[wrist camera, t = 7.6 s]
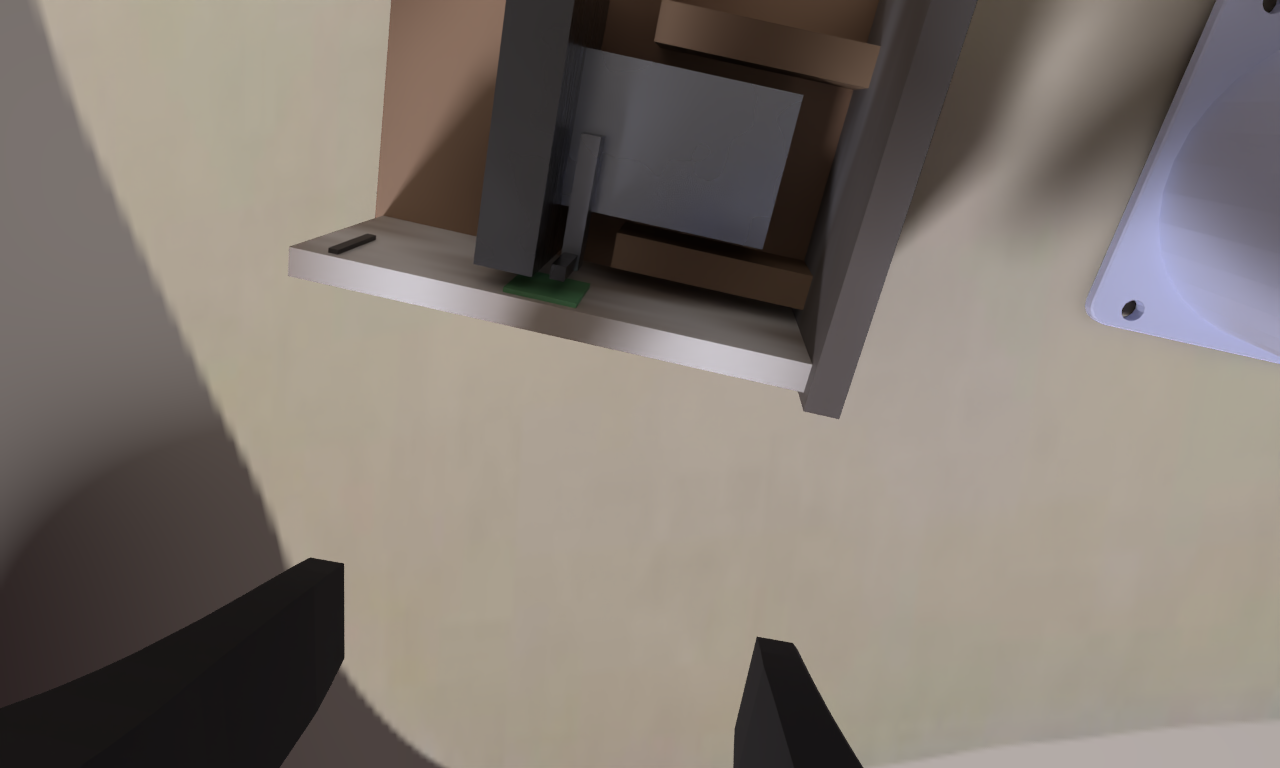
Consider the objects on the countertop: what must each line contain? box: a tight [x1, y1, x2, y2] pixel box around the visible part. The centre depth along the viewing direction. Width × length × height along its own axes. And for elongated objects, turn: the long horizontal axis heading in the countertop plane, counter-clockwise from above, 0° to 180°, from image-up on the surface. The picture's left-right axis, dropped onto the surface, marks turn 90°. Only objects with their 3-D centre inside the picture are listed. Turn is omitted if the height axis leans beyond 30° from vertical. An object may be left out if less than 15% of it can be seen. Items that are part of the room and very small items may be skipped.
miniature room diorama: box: [288, 0, 977, 419], centre depth 16 cm, size 12×8×6 cm
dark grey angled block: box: [473, 0, 804, 282], centre depth 16 cm, size 6×6×4 cm
